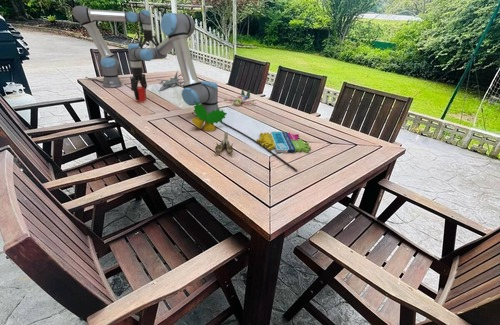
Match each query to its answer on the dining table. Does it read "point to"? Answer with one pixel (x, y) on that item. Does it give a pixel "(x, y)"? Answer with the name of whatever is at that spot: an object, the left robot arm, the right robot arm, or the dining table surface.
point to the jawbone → (224, 145)
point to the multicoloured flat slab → (283, 142)
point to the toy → (241, 99)
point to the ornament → (207, 117)
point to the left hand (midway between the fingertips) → (150, 54)
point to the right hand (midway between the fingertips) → (141, 98)
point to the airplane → (170, 82)
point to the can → (141, 93)
